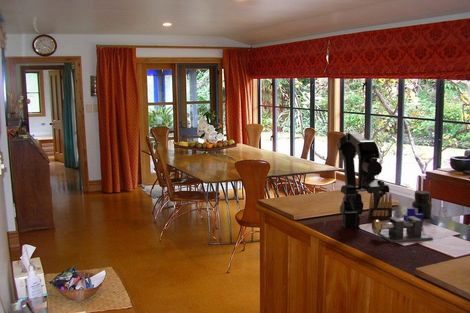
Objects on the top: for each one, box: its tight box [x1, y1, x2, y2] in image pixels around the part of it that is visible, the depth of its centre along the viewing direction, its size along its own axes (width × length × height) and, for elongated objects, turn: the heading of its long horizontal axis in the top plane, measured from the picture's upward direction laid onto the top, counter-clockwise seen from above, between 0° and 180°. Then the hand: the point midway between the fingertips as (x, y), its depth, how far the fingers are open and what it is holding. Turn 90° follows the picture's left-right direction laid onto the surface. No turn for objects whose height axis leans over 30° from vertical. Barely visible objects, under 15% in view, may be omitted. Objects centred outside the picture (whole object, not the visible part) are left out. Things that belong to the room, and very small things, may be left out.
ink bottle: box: [411, 190, 433, 220], centre depth 240 cm, size 10×9×12 cm
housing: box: [378, 216, 434, 243], centre depth 209 cm, size 18×12×8 cm, turn 101°
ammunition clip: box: [367, 192, 393, 220], centre depth 238 cm, size 11×2×12 cm, turn 89°
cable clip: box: [403, 207, 424, 228], centre depth 229 cm, size 12×4×6 cm, turn 0°
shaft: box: [371, 219, 413, 235], centre depth 208 cm, size 16×6×6 cm, turn 101°
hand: (364, 209), depth 205 cm, fingers open, 9 cm apart
